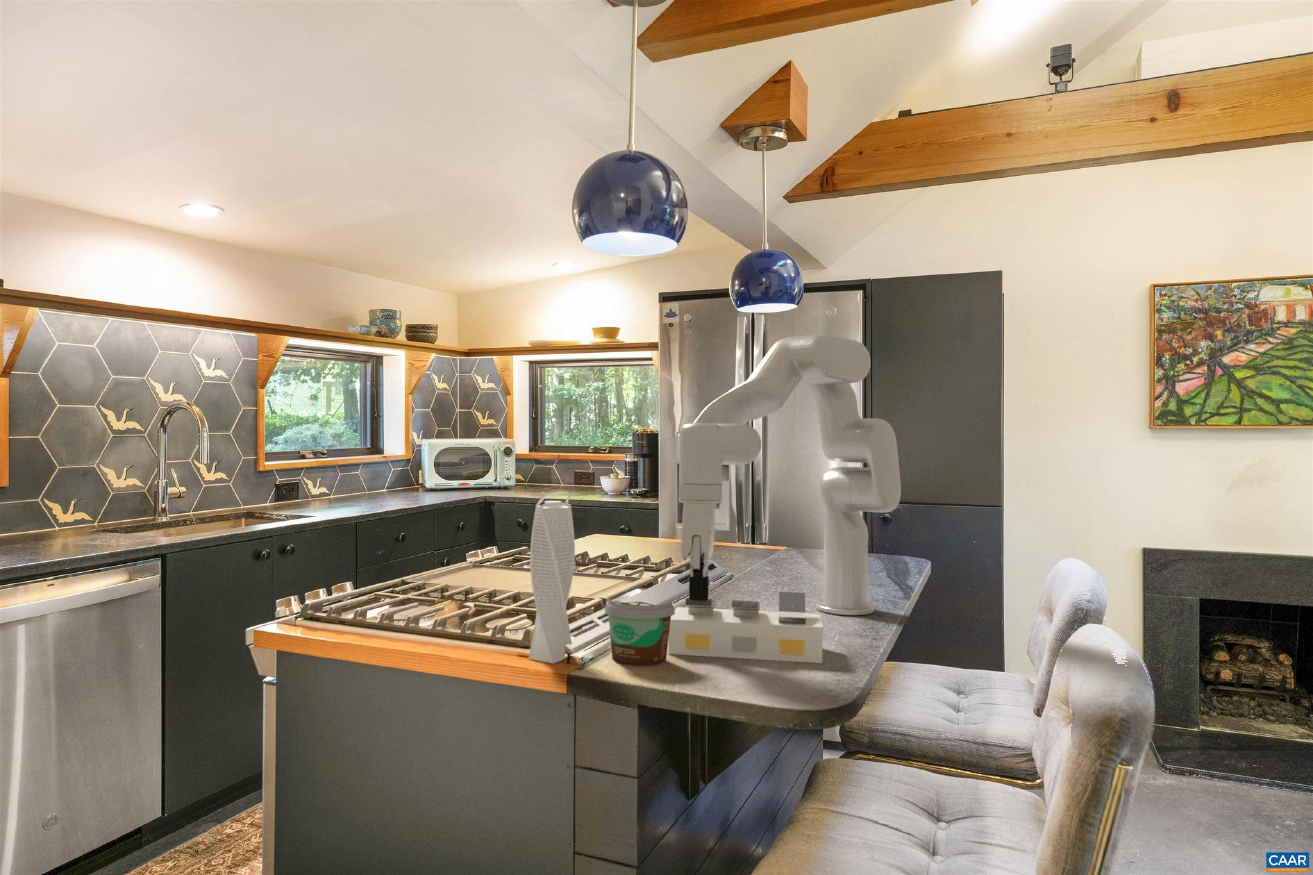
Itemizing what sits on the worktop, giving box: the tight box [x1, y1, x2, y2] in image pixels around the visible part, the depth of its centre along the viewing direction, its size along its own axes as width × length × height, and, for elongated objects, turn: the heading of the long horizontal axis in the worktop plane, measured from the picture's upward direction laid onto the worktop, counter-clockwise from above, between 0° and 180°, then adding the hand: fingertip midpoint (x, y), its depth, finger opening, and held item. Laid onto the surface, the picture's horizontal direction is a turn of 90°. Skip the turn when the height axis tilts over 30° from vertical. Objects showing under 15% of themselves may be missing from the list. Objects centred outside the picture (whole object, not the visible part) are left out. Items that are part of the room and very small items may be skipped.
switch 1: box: [685, 597, 717, 609], centre depth 135 cm, size 8×4×1 cm, turn 171°
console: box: [668, 606, 824, 664], centre depth 133 cm, size 10×26×7 cm, turn 80°
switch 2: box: [731, 599, 761, 611], centre depth 133 cm, size 8×4×1 cm, turn 171°
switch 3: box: [778, 591, 807, 624], centre depth 132 cm, size 8×4×1 cm, turn 170°
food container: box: [604, 596, 675, 667], centre depth 125 cm, size 12×6×10 cm, turn 70°
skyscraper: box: [528, 490, 576, 665], centre depth 128 cm, size 8×8×28 cm
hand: (698, 599), depth 131 cm, fingers closed
